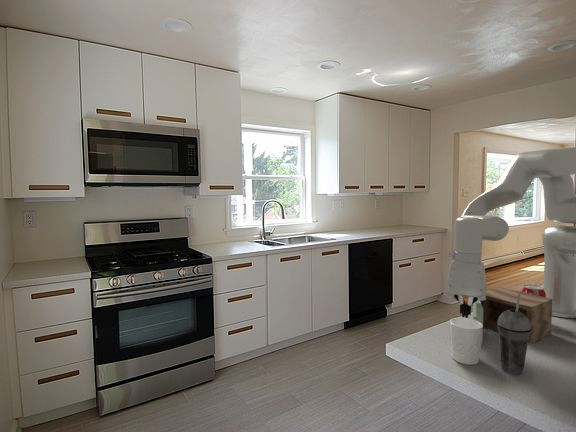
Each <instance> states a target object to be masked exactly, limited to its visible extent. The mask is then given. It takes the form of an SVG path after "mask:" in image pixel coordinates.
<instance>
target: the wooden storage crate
mask: <svg viewBox="0 0 576 432" xmlns="http://www.w3.org/2000/svg"><path fill="white" fill-rule="evenodd" d="M518 293H521V295H520V302H519V308H518V311H520V312H522V313H523V314H524V315H525V316H526V317H527V318H528V320H529V322H530V325H531V331H530V336H529V338H528V344H530V345H531V344H532V343H535V342H537V341H538V340H541V339H543V338H545V337H546V336H549V335H551V334H552V318H553V316H552V300H553V299H550V298H545V297H541V296H537V295H532V294H528V293H524V292H521V291H518V290H514V289H509V288H505V287H501V286H498V287H494V288H490V289H488V290H485V296H486V300H484V301H480V302H481V305H482V307H483V329H486V330H488V331H491V332H494V333H498V334H499V332H498V326H497V322H498V318H499V316H500V315H501V314H502V313H503V312H504V311H507V310H516V305H517V298H518Z"/></svg>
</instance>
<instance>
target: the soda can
mask: <svg viewBox="0 0 576 432" xmlns="http://www.w3.org/2000/svg"><path fill="white" fill-rule="evenodd" d="M520 292H524V293H528V294H532V295H537V296H541V297H545V298H546V293H545V291H544V288H543V286H541V285H538V284H523V286H522V288H521V291H520Z"/></svg>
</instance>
